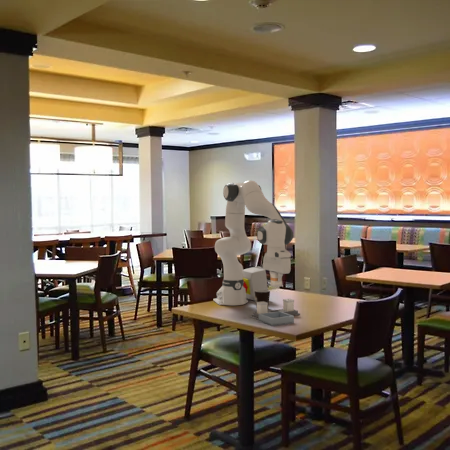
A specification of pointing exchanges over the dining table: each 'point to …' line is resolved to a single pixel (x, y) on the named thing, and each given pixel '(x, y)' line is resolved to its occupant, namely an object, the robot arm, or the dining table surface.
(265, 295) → the coffee mug
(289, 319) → the tray
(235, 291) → the robot arm
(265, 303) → the fuse
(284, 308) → the fuse
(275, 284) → the fuse marked
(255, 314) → the holder
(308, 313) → the dining table surface
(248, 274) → the electrical switch box
